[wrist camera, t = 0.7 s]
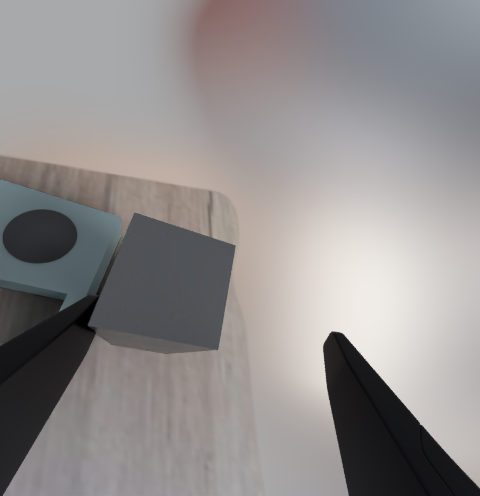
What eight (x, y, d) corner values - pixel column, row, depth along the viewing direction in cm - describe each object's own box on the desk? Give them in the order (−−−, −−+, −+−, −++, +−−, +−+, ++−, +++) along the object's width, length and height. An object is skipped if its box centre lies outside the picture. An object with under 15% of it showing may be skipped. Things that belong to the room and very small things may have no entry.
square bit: (166, 353, 19) (217, 349, 8) (111, 344, 17) (87, 325, 7) (179, 302, 20) (235, 245, 10) (130, 291, 19) (134, 212, 9)
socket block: (35, 436, 14) (15, 454, 12) (-142, 426, 12) (-216, 445, 9) (121, 234, 21) (120, 216, 18) (16, 202, 18) (-2, 177, 16)
